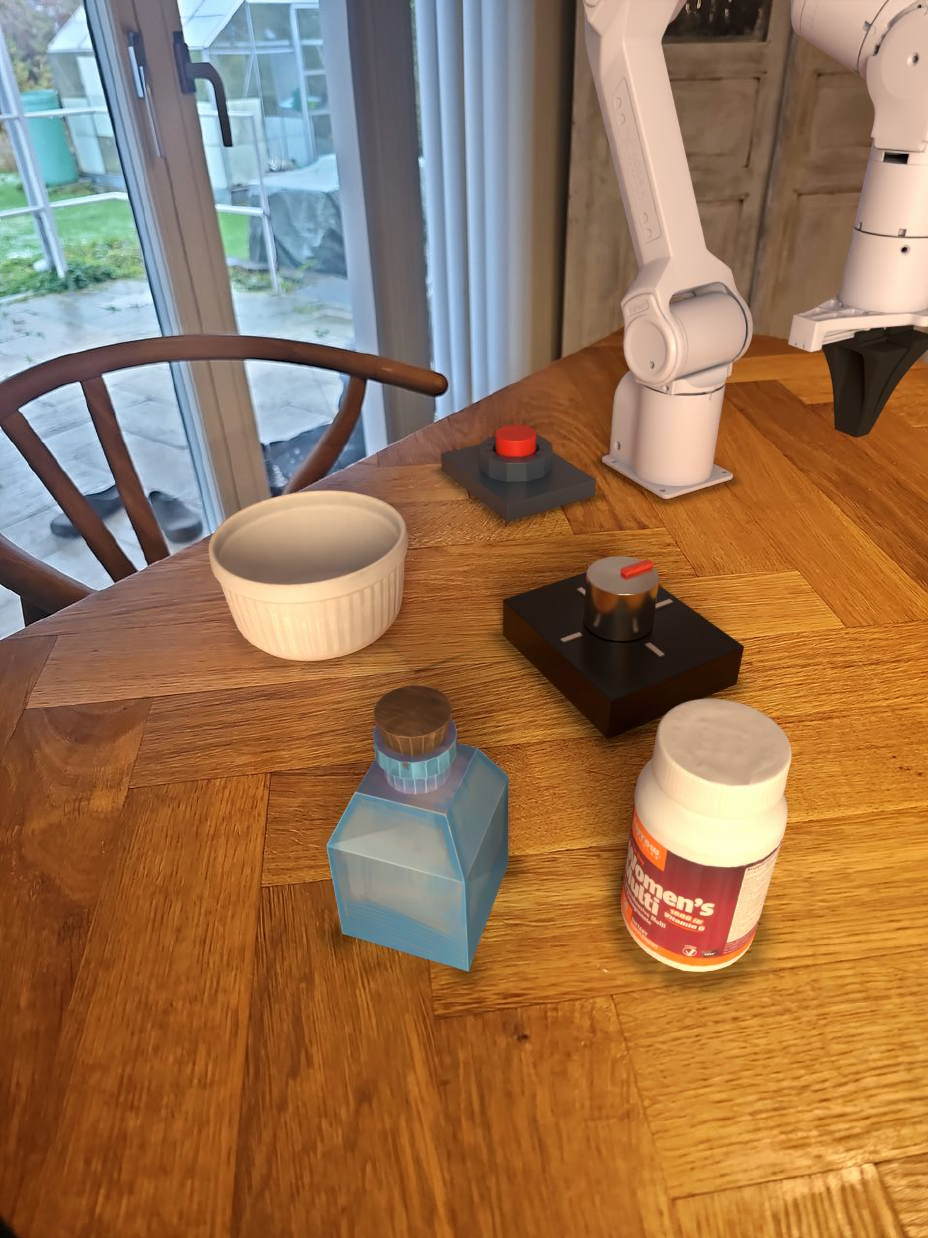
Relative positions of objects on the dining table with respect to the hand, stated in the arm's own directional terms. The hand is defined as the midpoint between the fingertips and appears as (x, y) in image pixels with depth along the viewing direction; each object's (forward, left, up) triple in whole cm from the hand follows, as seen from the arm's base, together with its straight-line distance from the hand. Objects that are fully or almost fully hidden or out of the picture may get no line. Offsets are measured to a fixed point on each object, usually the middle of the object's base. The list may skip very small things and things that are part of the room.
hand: (851, 431), depth 61 cm
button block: (-22, -15, -9) cm, 28 cm away
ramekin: (-11, -38, -10) cm, 41 cm away
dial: (+3, -23, -6) cm, 24 cm away
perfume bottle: (+14, -42, -10) cm, 45 cm away
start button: (-22, -15, -6) cm, 27 cm away
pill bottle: (+21, -32, -10) cm, 39 cm away
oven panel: (+4, -23, -9) cm, 25 cm away
